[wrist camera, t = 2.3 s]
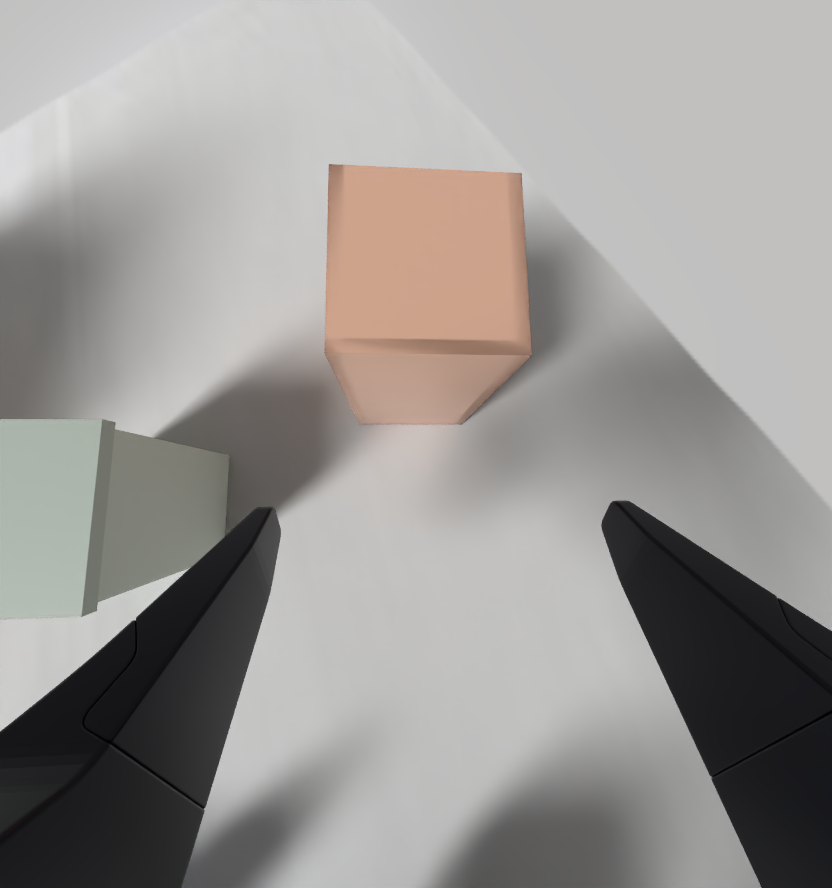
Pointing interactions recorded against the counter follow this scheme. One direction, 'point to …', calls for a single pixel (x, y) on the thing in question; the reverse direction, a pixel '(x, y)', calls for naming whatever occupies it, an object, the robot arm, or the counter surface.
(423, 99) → the counter surface
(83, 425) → the sage canister
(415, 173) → the terracotta cover
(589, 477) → the counter surface
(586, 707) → the counter surface
